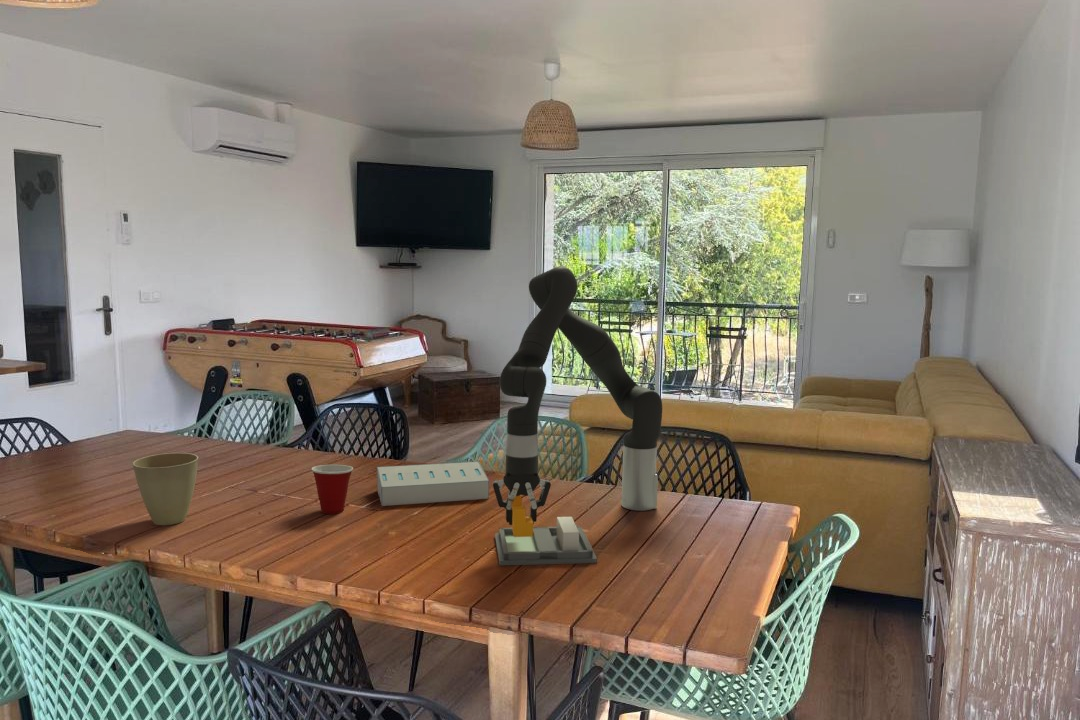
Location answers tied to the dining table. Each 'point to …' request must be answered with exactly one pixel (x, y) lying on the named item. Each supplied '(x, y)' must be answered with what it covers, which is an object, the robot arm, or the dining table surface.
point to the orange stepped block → (521, 520)
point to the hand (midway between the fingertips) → (520, 523)
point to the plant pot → (167, 485)
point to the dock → (545, 545)
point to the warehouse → (431, 483)
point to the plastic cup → (332, 486)
